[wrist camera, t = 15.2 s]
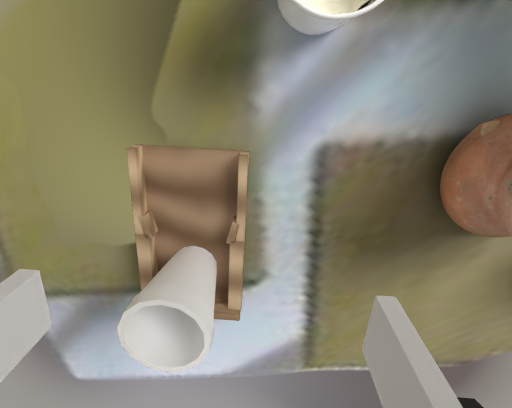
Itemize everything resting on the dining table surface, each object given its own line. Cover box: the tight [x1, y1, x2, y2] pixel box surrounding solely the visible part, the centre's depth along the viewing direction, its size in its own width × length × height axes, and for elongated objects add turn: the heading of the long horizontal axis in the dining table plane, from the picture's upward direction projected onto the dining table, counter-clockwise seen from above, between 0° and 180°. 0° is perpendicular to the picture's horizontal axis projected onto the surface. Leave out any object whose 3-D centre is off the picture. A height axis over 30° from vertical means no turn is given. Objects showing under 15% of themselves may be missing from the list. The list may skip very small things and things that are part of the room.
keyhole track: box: [127, 144, 249, 321], centre depth 39 cm, size 23×14×4 cm, turn 177°
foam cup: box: [117, 246, 217, 372], centre depth 36 cm, size 10×9×13 cm
